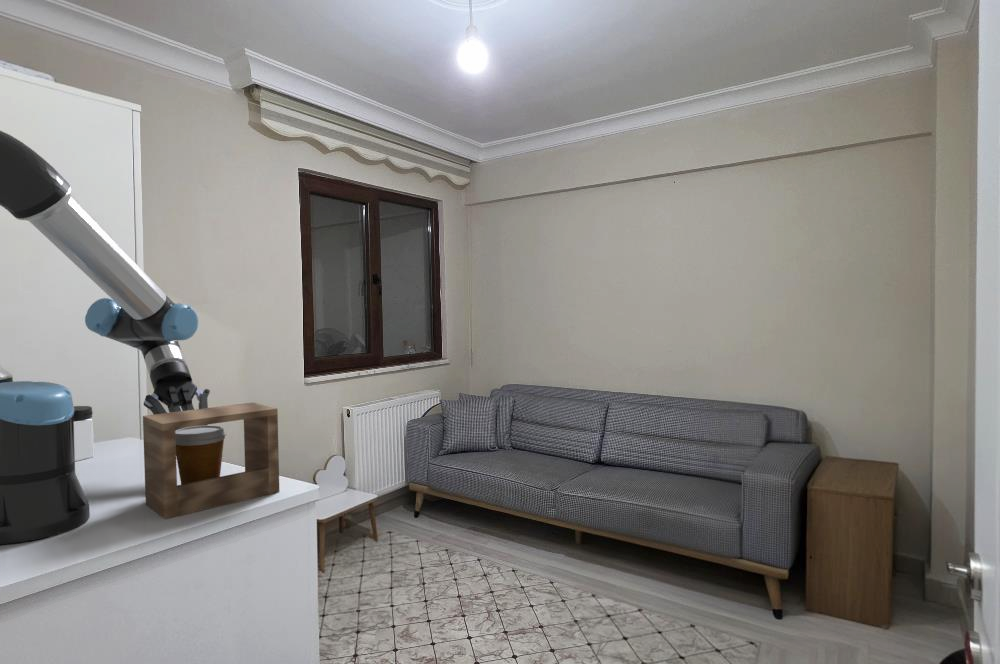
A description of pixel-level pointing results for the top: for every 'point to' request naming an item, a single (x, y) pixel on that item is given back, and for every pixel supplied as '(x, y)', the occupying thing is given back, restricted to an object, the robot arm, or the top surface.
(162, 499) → the walnut shelf
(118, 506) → the top surface
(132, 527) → the top surface
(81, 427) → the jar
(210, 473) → the disposable coffee cup
